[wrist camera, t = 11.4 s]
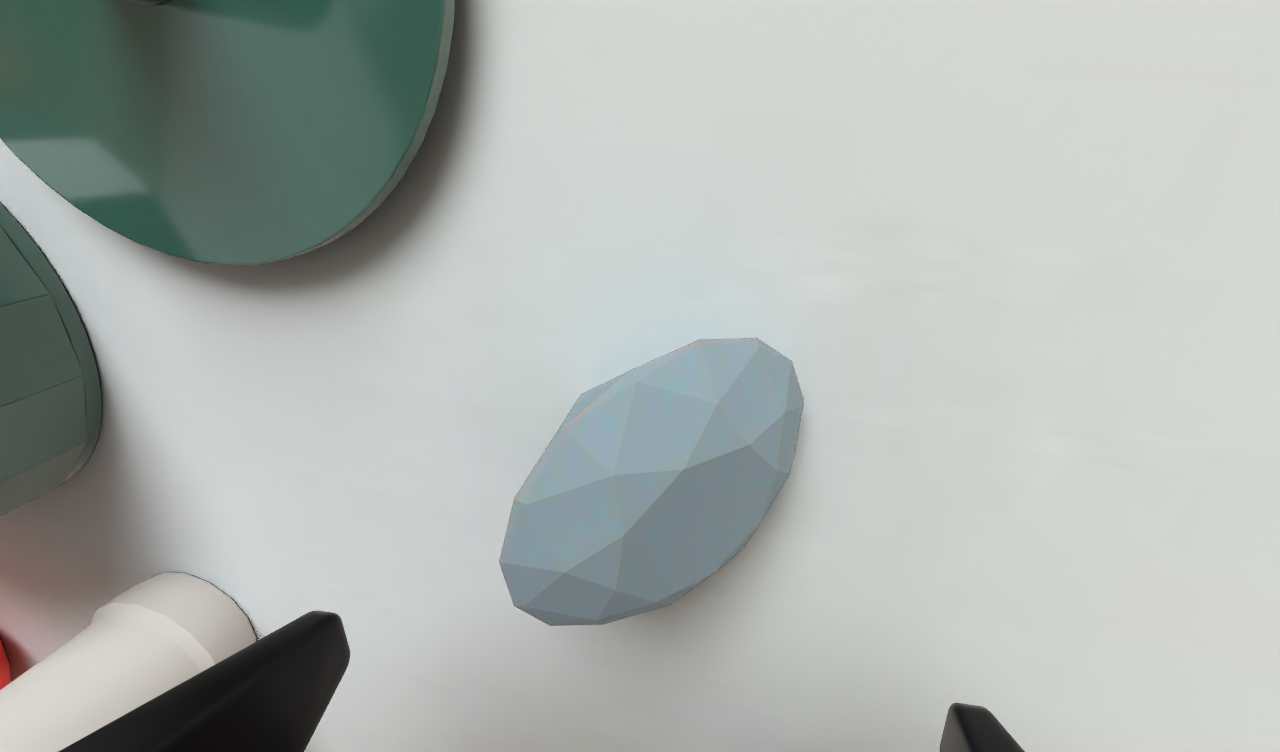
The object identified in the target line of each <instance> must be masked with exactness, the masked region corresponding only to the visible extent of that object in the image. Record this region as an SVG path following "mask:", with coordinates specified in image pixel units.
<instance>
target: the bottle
mask: <svg viewBox="0 0 1280 752" xmlns="http://www.w3.org/2000/svg"><path fill="white" fill-rule="evenodd" d="M255 642H256V636H255V633H254V631H253V629H252V627H251V624H250V622H249V620H248V618H247V616H246V615H245V614H244V613H243V612H242V610H241V609H240V608H239V607H238V606H237V605H236V604H235V602H234V601H233V600H232V599H231V598H230V597H229V596H227V595H226V594H224V593H223V592H222V591H220V590H219V589H217V588H216V587H215V586H213V585H212V584H210V583H209V582H206V581H204V580H201V579H199V578H196V577H194V576H191V575H188V574H186V573H171V572H164V573H161V574H159V575H156V576H154V577H152V578H149V579H147V580H145V581H143V582H141V583H138V584H136V585H134V586H132V587H130V588H129V589H127V590H125V591H123V592H122V593H120V594H119V595H117V596H116V597H114V598H113V599H111V600H110V601H108V602H107V603H105V604H104V605H103V606H101V607H100V608H98V609H97V610H96V611H95V613H94V616H93V618H92V620H91V622H90V624H89V626H88V627H87V628H86V629H84V630H83V631H81V632H80V633H79V634H77V635H76V636H75V637H73V638H72V639H70V640H69V641H68V642H66V643H65V644H63V645H62V646H61V647H59V648H58V649H57V650H55V651H54V652H52V653H51V654H50V655H48V656H47V657H45V658H44V659H43V660H41V661H40V662H39V663H37V664H36V665H34V666H33V667H32V668H30V669H29V670H27V671H26V672H25V673H23V674H22V675H21V676H19V677H18V678H16V679H15V680H14V681H12V682H11V683H9V684H8V685H7V686H5V687H4V688H3V689H1V690H0V752H58V751H60V750H62V749H64V748H66V747H67V746H69V745H71V744H73V743H75V742H76V741H78V740H80V739H82V738H84V737H85V736H87V735H89V734H91V733H93V732H94V731H96V730H98V729H100V728H102V727H103V726H105V725H107V724H109V723H111V722H112V721H114V720H116V719H118V718H120V717H121V716H123V715H125V714H127V713H129V712H130V711H132V710H134V709H136V708H138V707H139V706H141V705H143V704H145V703H147V702H148V701H150V700H152V699H154V698H156V697H157V696H159V695H161V694H163V693H165V692H166V691H168V690H170V689H172V688H174V687H175V686H177V685H179V684H181V683H183V682H184V681H186V680H188V679H190V678H192V677H193V676H195V675H197V674H199V673H201V672H202V671H204V670H206V669H208V668H210V667H211V666H213V665H215V664H217V663H219V662H220V661H222V660H224V659H226V658H228V657H229V656H231V655H233V654H235V653H237V652H238V651H240V650H242V649H244V648H246V647H247V646H249V645H251V644H253V643H255Z"/></svg>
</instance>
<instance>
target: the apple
mask: <svg viewBox="0 0 1280 752" xmlns="http://www.w3.org/2000/svg"><path fill="white" fill-rule="evenodd" d="M9 683H10V664H9V661H8V659H7V656H6V653H5V650H4V648H3V645H2V642H1V639H0V690H1V689H3V688H4V687H5V686H7V685H8V684H9Z"/></svg>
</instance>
